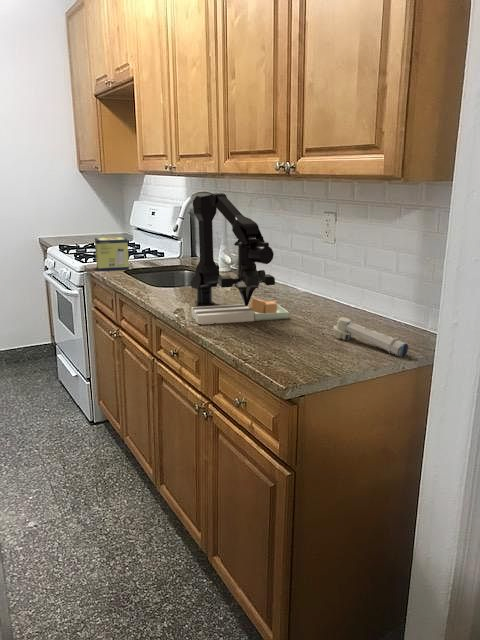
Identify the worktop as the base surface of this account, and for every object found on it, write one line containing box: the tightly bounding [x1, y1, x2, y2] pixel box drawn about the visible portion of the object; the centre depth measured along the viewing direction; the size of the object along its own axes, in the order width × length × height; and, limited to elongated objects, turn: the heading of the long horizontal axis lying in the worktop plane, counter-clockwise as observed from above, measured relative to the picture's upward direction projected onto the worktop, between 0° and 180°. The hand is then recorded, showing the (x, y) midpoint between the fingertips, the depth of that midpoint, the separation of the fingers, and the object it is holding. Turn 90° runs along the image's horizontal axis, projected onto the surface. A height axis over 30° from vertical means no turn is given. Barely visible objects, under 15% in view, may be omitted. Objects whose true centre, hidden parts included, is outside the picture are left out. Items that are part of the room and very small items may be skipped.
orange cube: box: [263, 300, 278, 314], centre depth 190 cm, size 4×4×4 cm
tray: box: [248, 303, 290, 322], centre depth 191 cm, size 12×12×2 cm
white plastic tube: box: [332, 317, 410, 358], centre depth 158 cm, size 5×7×25 cm
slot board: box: [191, 303, 255, 325], centre depth 186 cm, size 12×19×4 cm, turn 105°
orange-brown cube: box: [248, 297, 267, 313], centre depth 189 cm, size 4×4×4 cm
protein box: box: [94, 236, 130, 272], centre depth 279 cm, size 10×16×16 cm
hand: (246, 305), depth 188 cm, fingers closed
